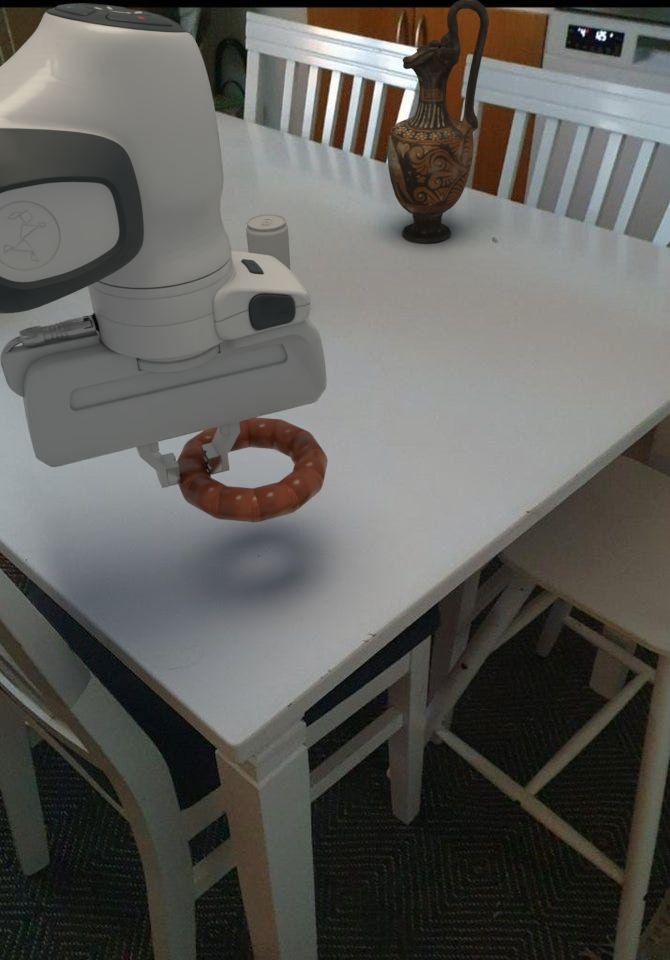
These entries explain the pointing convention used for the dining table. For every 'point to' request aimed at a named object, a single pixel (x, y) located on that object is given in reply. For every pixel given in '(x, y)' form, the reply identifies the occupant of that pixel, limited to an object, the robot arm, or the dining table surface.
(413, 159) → the vase
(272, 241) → the beverage can
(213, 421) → the robot arm
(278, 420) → the ring
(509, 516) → the dining table surface
